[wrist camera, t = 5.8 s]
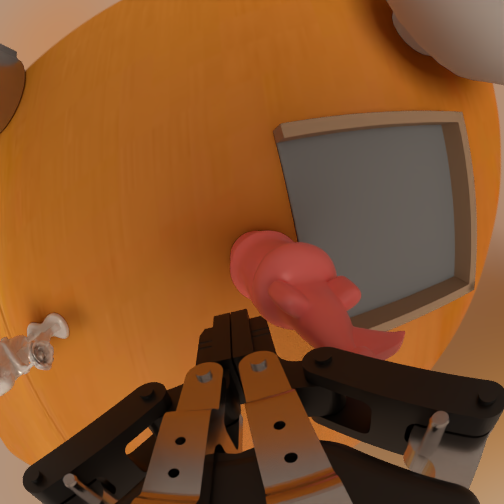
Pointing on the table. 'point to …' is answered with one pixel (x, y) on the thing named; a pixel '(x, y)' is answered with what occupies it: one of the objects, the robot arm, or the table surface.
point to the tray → (386, 206)
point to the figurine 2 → (304, 293)
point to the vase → (456, 34)
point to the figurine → (29, 350)
